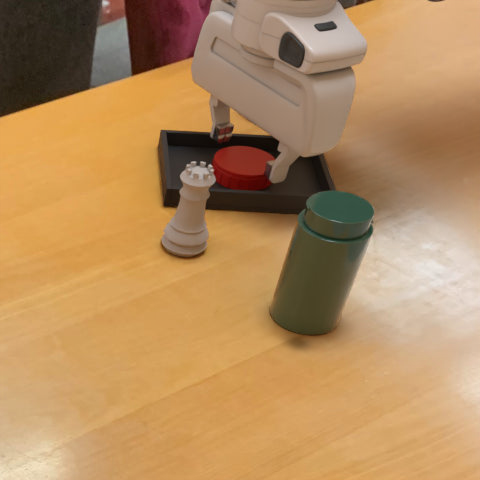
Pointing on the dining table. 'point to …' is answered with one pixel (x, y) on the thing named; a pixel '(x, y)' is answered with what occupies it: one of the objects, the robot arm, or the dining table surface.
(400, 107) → the dining table surface
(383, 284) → the dining table surface
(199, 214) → the rook chess piece
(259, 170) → the lid
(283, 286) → the jar
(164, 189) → the tray
